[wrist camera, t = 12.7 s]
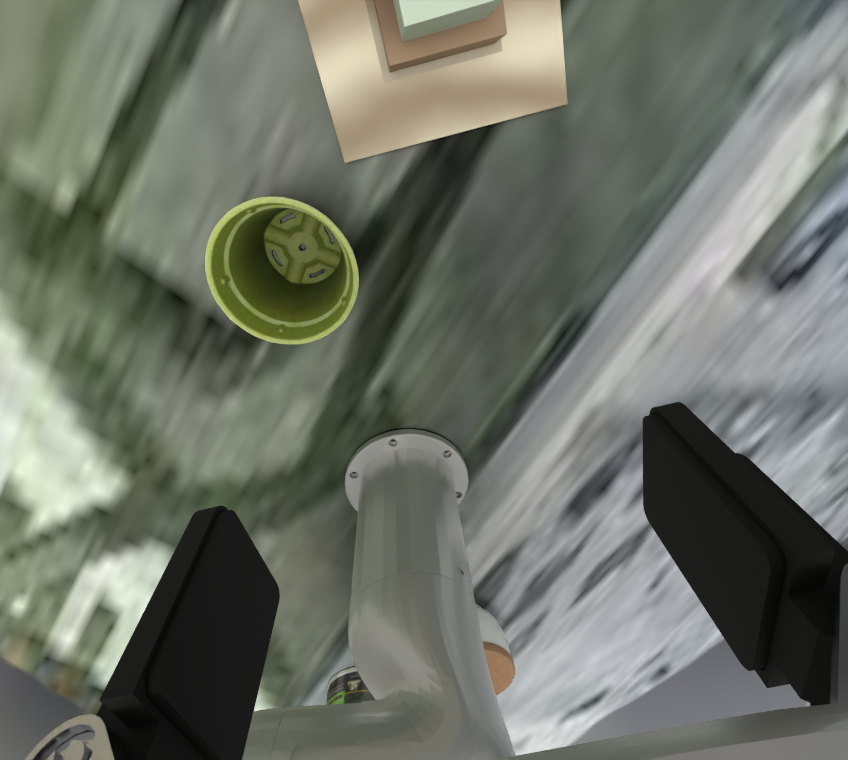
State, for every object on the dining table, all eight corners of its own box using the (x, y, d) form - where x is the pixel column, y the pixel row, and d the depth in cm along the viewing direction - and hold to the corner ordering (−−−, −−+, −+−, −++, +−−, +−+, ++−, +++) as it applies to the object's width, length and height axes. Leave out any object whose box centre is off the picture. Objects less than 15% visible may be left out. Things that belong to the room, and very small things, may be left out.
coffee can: (314, 695, 67) (296, 824, 55) (351, 656, 63) (341, 786, 51) (376, 713, 70) (373, 839, 58) (414, 677, 66) (420, 804, 54)
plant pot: (327, 158, 34) (309, 168, 27) (384, 274, 39) (383, 310, 31) (218, 214, 36) (172, 238, 28) (285, 319, 40) (260, 366, 32)
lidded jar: (412, 640, 62) (416, 719, 54) (425, 586, 57) (431, 663, 49) (491, 643, 64) (506, 720, 55) (510, 590, 59) (529, 666, 50)
